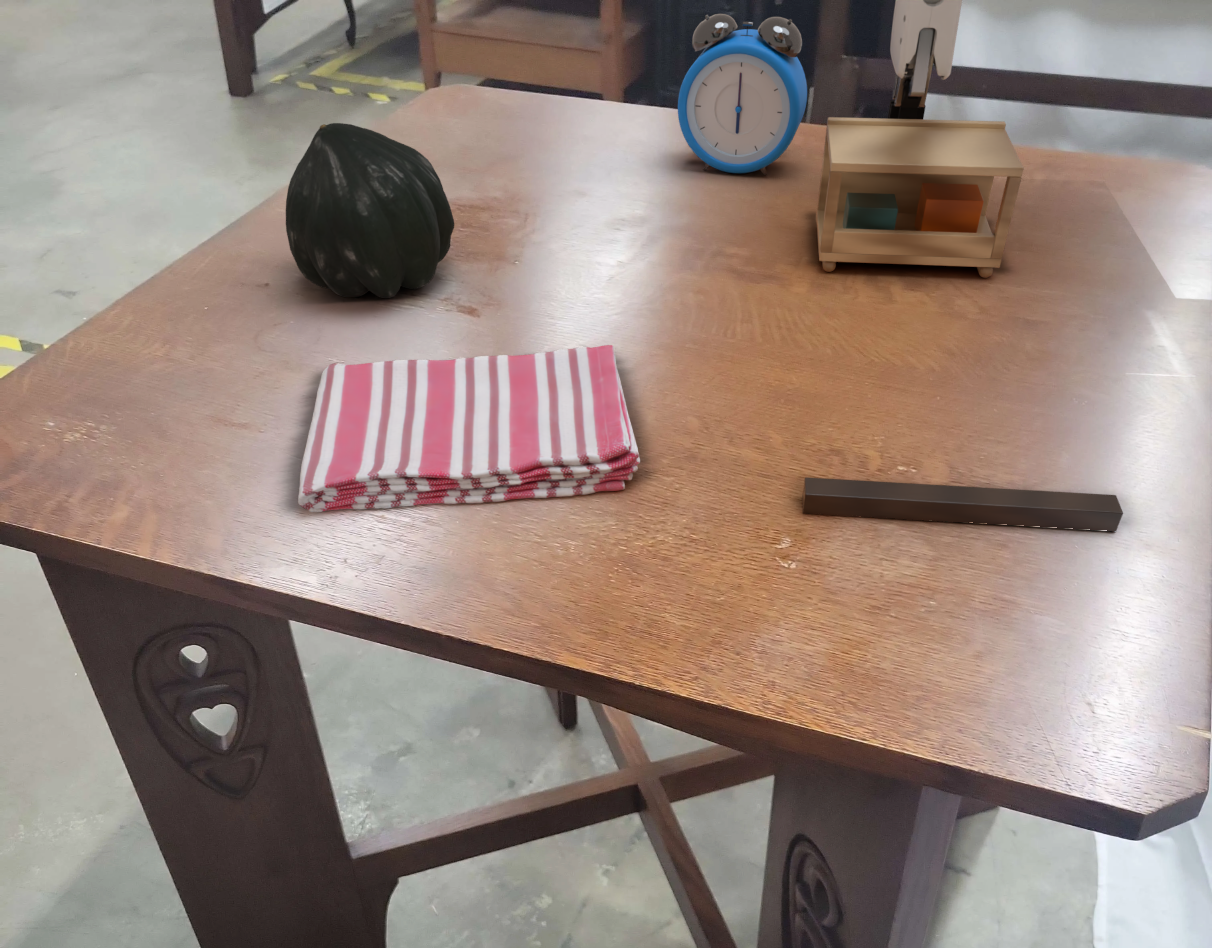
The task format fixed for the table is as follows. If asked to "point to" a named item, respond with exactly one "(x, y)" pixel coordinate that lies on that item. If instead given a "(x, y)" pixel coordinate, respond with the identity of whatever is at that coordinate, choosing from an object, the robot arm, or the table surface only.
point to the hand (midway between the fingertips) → (900, 145)
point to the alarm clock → (743, 93)
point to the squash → (366, 213)
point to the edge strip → (961, 504)
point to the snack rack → (914, 192)
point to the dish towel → (468, 431)
